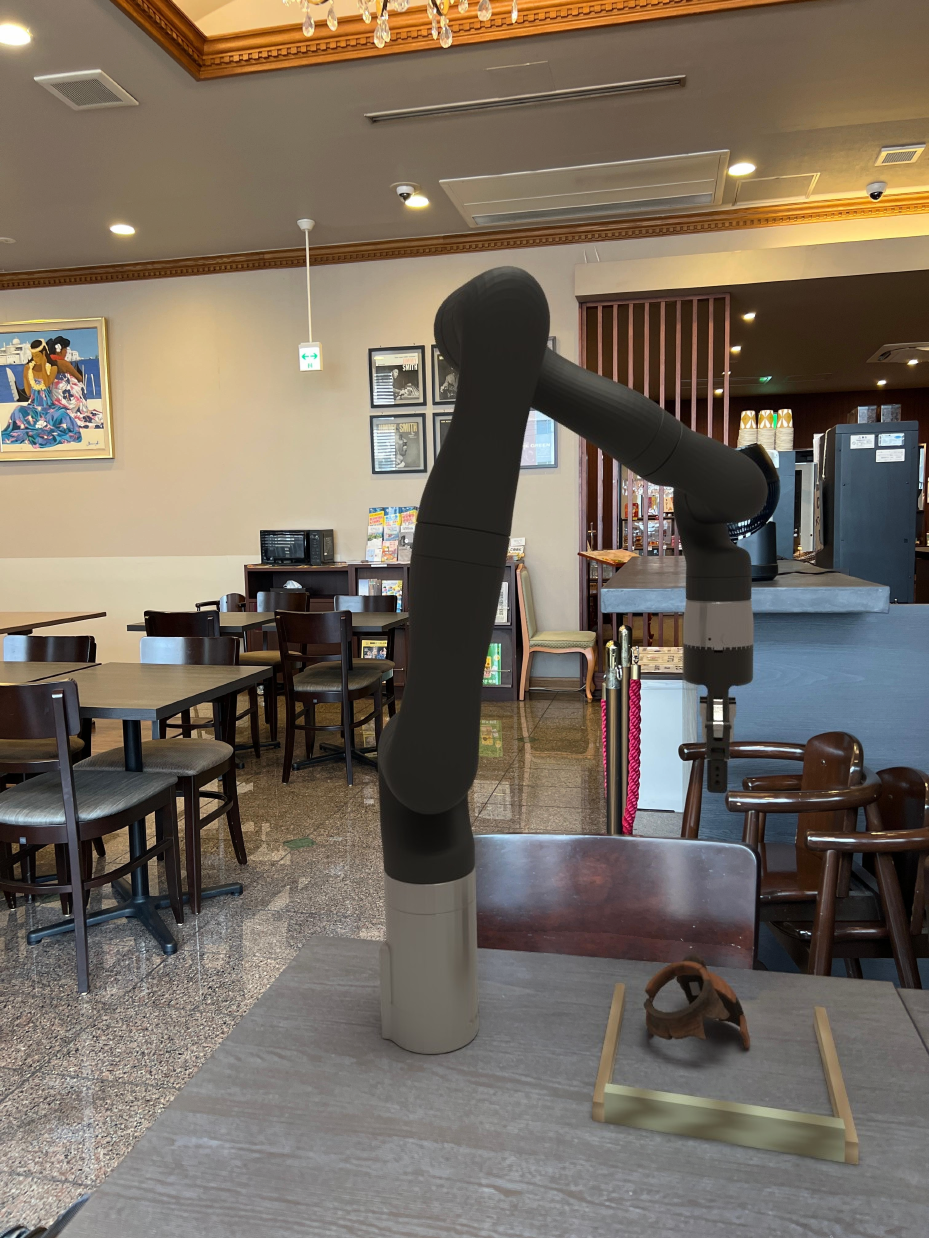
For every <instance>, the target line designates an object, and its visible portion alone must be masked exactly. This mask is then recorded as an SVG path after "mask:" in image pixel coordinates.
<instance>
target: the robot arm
mask: <svg viewBox="0 0 929 1238" xmlns="http://www.w3.org/2000/svg"><path fill="white" fill-rule="evenodd" d="M434 317H435V318H434V320H433V337H434V342H435V346H436V348H437V351H438V353H439V354H440V356H441V358H442V359H443V361H444V362H445V363H446V365H448V366H449V367H450V368H451V369H452V370H454V371H455V372H456V373H458V375H457V383H456V395H455V400H454V406H453V411H452V415H451V420H450V422H449V426H448V429H447V431H446V434H445V437H444V439H443V442H442V444H441V447H440V448H439V452H438V454H437V455H436V458H435V460H434V463H433V466H432V468H431V470H430V473H429V475H428V477H427V480H426V483H425V486H424V489H423V492H422V494H421V498H420V501H419V506H418V510H417V515H416V519H415V526H414V531H413V532H414V533H413V539H412V545H411V554H410V559H409V560H410V562H409V571H408V572H409V574H408V591H407V592H408V600H407V601H408V603H407V604H408V605H407V606H408V609H407V610H408V611H407V612H408V639H409V641H408V642H409V643H408V644H409V646H408V647H409V649H408V665H407V666H408V667H407V672H406V679H405V684H404V689H403V694H402V698H401V701H400V705H399V706H400V707H399V711H397V712H396V713H395V714H393V716H391V718H389V719H388V721H387V722H386V724H385V725H384V727H383V729H382V730H381V733H380V736H379V740H378V745H377V776H378V777H377V779H378V799H379V803H378V804H379V826H380V835H381V836H380V837H381V845H382V859H383V860H382V861H383V885H384V912H385V913H384V916H385V940H384V941H383V943H381V945H380V947H379V949H378V957H379V958H378V959H379V961H378V963H379V964H378V965H379V986H380V987H379V989H380V990H379V992H380V1016H381V1017H380V1018H381V1038H382V1039H385V1040H386V1039H387V1040H391V1041H392V1042H394V1043H395V1044H396V1045H397V1046H398V1047H400V1048H402V1049H404V1050H406V1051H410V1052H413V1053H417V1054H423V1055H436V1054H438V1055H439V1054H445V1053H448V1052H453V1051H456V1050H458V1049H461V1048H463V1047H465V1046H467V1045H469V1043H470V1042H472V1041H473V1040H474V1039H475V1038H476V1036H477V1034H478V1032H479V1028H480V1025H479V1023H480V1022H479V1017H480V1016H479V1013H480V1005H479V978H478V977H479V976H478V974H479V973H478V971H479V970H478V967H479V965H478V931H477V930H478V929H477V886H476V885H477V883H476V882H477V880H476V879H477V878H476V845H475V838H474V833H473V828H472V822H471V815H470V809H469V808H470V807H469V791H470V789H472V787H473V784H474V782H475V779H476V778H477V775H478V774H477V773H478V769H479V760H480V759H479V757H480V736H481V735H480V734H481V718H482V717H481V715H482V700H483V687H484V686H483V685H484V677H485V669H486V664H487V659H488V657H489V656H488V655H489V651H490V647H491V642H492V638H493V634H494V629H495V623H496V621H497V615H498V614H497V613H498V609H499V603H500V599H501V598H500V597H501V592H502V588H503V587H502V586H503V583H504V577H505V574H506V573H505V572H506V566H507V561H508V559H507V558H508V553H509V547H510V542H511V534H512V528H513V527H512V526H513V517H514V510H515V505H516V504H515V502H516V497H517V491H518V485H519V479H520V471H521V464H522V457H523V451H524V450H523V448H524V443H525V434H526V431H527V425H528V421H529V416H530V413H531V412H530V411H531V409H533V410H535V411H536V412H539V413H540V414H542V415H544V416H545V417H547V418H550V419H551V420H553V421H554V422H556V423H557V424H560V425H561V426H563V427H565V429H568V430H569V431H571V432H573V433H574V434H576V435H577V436H579V437H580V438H583V439H584V440H585V441H587V442H588V443H590V444H592V445H593V446H594V447H596V448H598V450H600V451H602V452H603V453H604V454H606V455H608V456H609V457H610V458H612V459H613V460H614V461H616V462H617V463H619V464H620V465H622V466H623V467H625V468H626V469H628V470H629V471H630V472H632V473H633V474H635V475H636V476H638V477H639V478H641V479H642V480H644V481H646V482H647V483H650V484H651V485H654V486H659V487H665V488H666V487H667V488H672V489H673V493H672V508H673V509H672V511H673V517H674V521H675V525H676V530H677V533H678V534H677V535H678V538H679V542H680V546H681V547H680V548H681V551H682V552H683V556H684V560H685V570H686V571H685V606H684V613H683V621H682V622H683V625H682V626H683V628H682V629H683V632H682V634H683V636H682V637H683V639H682V641H683V644H682V645H683V647H682V648H683V652H682V656H683V658H682V659H683V660H682V664H683V665H682V666H683V667H682V672H683V673H682V674H683V675H682V676H683V677H682V678H683V679H684V682H685V681H686V682H687V683H688V684H692V685H694V686H695V685H696V686H704V687H705V688H706V691H707V694H706V695H699V716H700V717H701V739H702V741H703V742H704V745H705V744H706V747H705V748H704V757H705V760H706V790H707V791H708V792H709V793H712V794H725V793H727V792H728V770H729V769H728V762H729V760H730V759H731V752H730V751H731V750H730V747H731V745H730V744H731V743H733V741H734V738H735V737H734V736H735V732H734V731H735V730H734V729H735V727H734V726H735V718H736V717H737V701H736V696H729V693H730V691H729V690H730V688H732V687H734V686H735V687H741V686H747V685H749V684H750V683H752V681H753V680H754V625H755V624H754V614H753V613H754V611H753V607H752V605H753V604H752V589H753V588H752V587H753V586H752V584H753V583H752V579H753V578H752V577H753V576H752V570H753V569H752V558H751V557H752V556H751V555H750V552H749V551H748V550H747V549H745V548H743V547H741V546H738V545H736V544H734V543H733V542H732V540H731V537H730V534H729V532H730V531H729V529H728V525H727V524H739V523H743V522H747V521H750V520H751V519H753V518H755V517H756V516H757V515H758V514H759V513H761V512H762V510H763V508H764V507H765V505H766V502H767V499H768V495H769V494H768V493H769V489H768V483H767V479H766V477H765V474H764V473H763V471H762V469H761V468H760V467H759V465H758V464H757V463H756V462H755V461H754V460H752V459H751V458H750V457H749V456H747V455H746V454H744V453H743V452H741V451H740V450H737V449H736V448H734V447H731V446H729V445H727V444H725V443H723V442H721V441H718V440H717V439H715V438H712V437H710V436H708V435H706V434H702V433H700V432H697V431H695V430H693V429H691V428H689V427H688V426H687V425H686V424H685V423H683V422H682V421H681V420H679V419H678V418H677V417H675V416H674V415H673V414H671V413H670V412H668V411H667V410H666V409H664V408H663V407H662V406H660V405H659V404H658V403H656V402H655V401H654V400H653V399H650V398H649V397H647V396H646V395H644V394H642V393H640V392H638V390H635V389H633V388H631V387H629V386H626V385H624V384H622V383H621V382H618V381H615V380H614V379H611V378H608V377H606V376H603V375H602V374H601V375H600V374H598V373H596V372H593V371H591V370H589V369H586V368H584V367H583V366H580V365H578V364H576V363H574V362H573V361H571V360H569V359H567V358H566V357H564V356H563V355H561V354H559V353H557V352H556V351H554V350H553V349H552V348H551V347H549V346H548V344H549V339H550V334H551V333H550V331H551V312H550V306H549V302H548V299H547V296H546V293H545V292H544V290H543V288H542V285H541V284H540V283H539V281H537V279H536V278H535V277H534V275H532V274H530V273H529V272H528V271H526V270H525V269H523V268H520V267H517V266H513V265H503V266H497V267H493V268H490V269H488V270H486V271H483V272H481V273H480V274H477V275H476V276H474V277H472V278H471V279H470V280H468V281H467V282H465V283H464V284H462V285H461V286H460V287H458V288H456V289H455V290H453V292H451V293H450V294H449V295H447V297H446V298H445V299H444V300H442V303H441V304H440V306H439V307H438V308H437V311H436V314H435V316H434Z"/></svg>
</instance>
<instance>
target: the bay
mask: <svg viewBox="0 0 929 1238" xmlns="http://www.w3.org/2000/svg"><path fill="white" fill-rule="evenodd" d="M612 995H613V996H612V1001H611V1007H610V1011H609V1017H608V1021H607V1025H606V1031H605V1035H604V1042H603V1046H602V1051H601V1056H600V1061H599V1067H598V1071H597V1077H596V1081H595V1086H594V1092H593V1097H592V1121H594V1122H596V1121H597V1122H600V1123H601V1122H602V1123H608V1124H613V1125H619V1126H624V1127H630V1128H637V1129H643V1130H649V1131H653V1132H654V1131H655V1132H659V1133H667V1134H673V1135H679V1136H685V1137H691V1138H695V1139H702V1140H709V1141H713V1142H714V1141H715V1142H721V1143H725V1144H731V1145H732V1144H733V1145H739V1146H744V1147H750V1148H757V1149H761V1150H769V1151H774V1152H780V1153H786V1154H792V1155H797V1156H803V1157H810V1158H816V1159H822V1160H827V1161H835V1162H840V1163H846V1164H852V1165H859V1149H860V1148H859V1147H860V1146H859V1145H860V1142H859V1139H858V1133H857V1130H856V1127H855V1122H854V1119H853V1115H852V1114H853V1113H852V1109H851V1107H850V1102H849V1098H848V1095H847V1094H848V1093H847V1090H846V1086H845V1082H844V1079H843V1078H844V1077H843V1074H842V1070H841V1066H840V1063H839V1059H838V1053H837V1049H836V1045H835V1042H834V1037H833V1034H832V1030H831V1026H830V1023H829V1022H830V1021H829V1019H828V1014H827V1010H826V1007H823V1006H814V1010H813V1011H814V1013H813V1014H814V1015H813V1017H814V1018H813V1019H814V1020H813V1026H814V1031H815V1034H816V1040H817V1045H818V1048H819V1053H820V1058H821V1063H822V1067H823V1071H824V1076H825V1080H826V1085H827V1090H828V1094H829V1095H828V1096H829V1098H830V1099H829V1101H830V1105H831V1109H832V1113H833V1116H826V1115H820V1114H813V1113H806V1112H800V1111H793V1110H785V1109H780V1108H774V1107H773V1108H771V1107H765V1106H759V1105H754V1104H753V1105H752V1104H747V1103H741V1102H740V1103H739V1102H732V1101H727V1100H718V1099H714V1098H708V1097H707V1098H706V1097H698V1096H692V1095H686V1094H679V1093H674V1092H666V1091H658V1090H653V1089H646V1088H640V1087H634V1086H627V1085H626V1086H625V1085H621V1084H620V1085H619V1084H614V1083H612V1081H613V1075H614V1071H615V1070H614V1069H615V1064H616V1058H617V1052H618V1047H619V1041H620V1036H621V1030H622V1024H623V1018H624V1013H625V1012H624V1011H625V1007H626V983H623V982H615V985H614V990H613V994H612Z"/></svg>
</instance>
